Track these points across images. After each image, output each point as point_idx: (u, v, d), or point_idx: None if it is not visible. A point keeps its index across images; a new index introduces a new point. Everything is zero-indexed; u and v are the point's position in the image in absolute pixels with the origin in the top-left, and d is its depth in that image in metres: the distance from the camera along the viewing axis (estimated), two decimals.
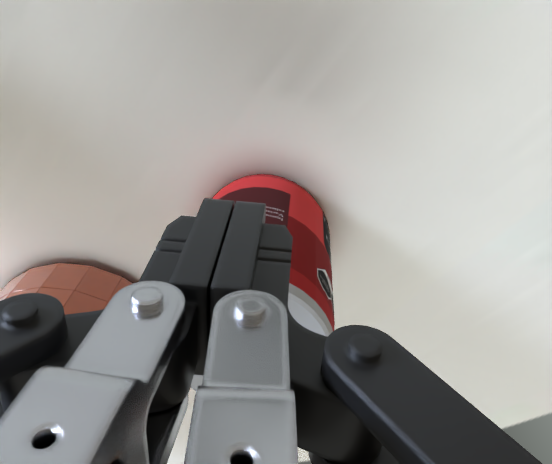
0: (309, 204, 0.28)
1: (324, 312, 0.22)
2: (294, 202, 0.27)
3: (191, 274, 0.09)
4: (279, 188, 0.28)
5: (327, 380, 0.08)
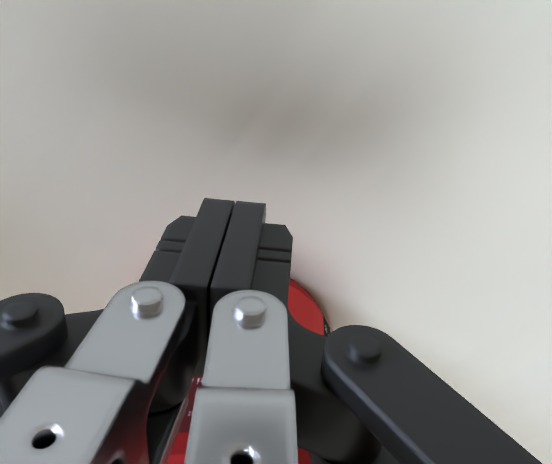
0: (303, 315, 0.20)
1: None
2: None
3: (191, 274, 0.09)
4: None
5: (327, 380, 0.08)
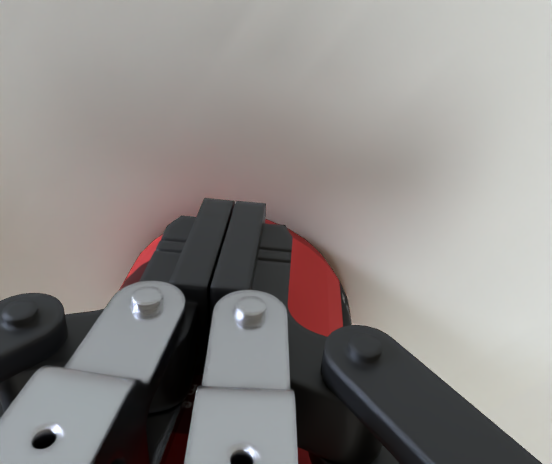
0: (315, 276, 0.15)
1: None
2: None
3: (191, 274, 0.09)
4: None
5: (327, 380, 0.08)
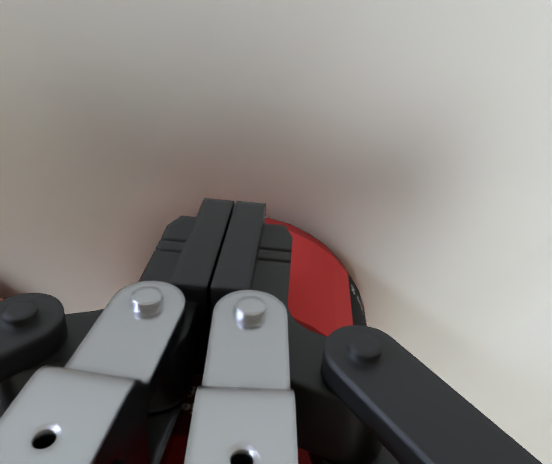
0: (320, 270, 0.15)
1: None
2: None
3: (191, 274, 0.09)
4: None
5: (327, 380, 0.08)
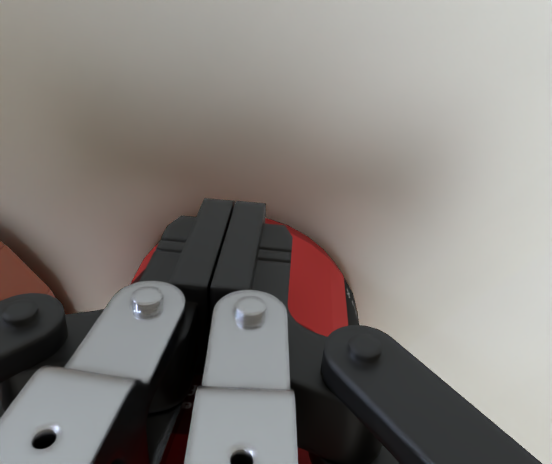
0: (318, 273, 0.15)
1: None
2: None
3: (191, 274, 0.09)
4: None
5: (327, 380, 0.08)
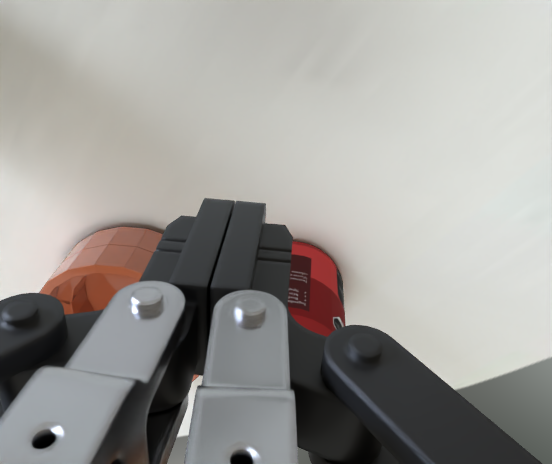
0: (325, 264, 0.38)
1: None
2: (314, 265, 0.37)
3: (191, 274, 0.09)
4: (303, 254, 0.38)
5: (327, 380, 0.08)
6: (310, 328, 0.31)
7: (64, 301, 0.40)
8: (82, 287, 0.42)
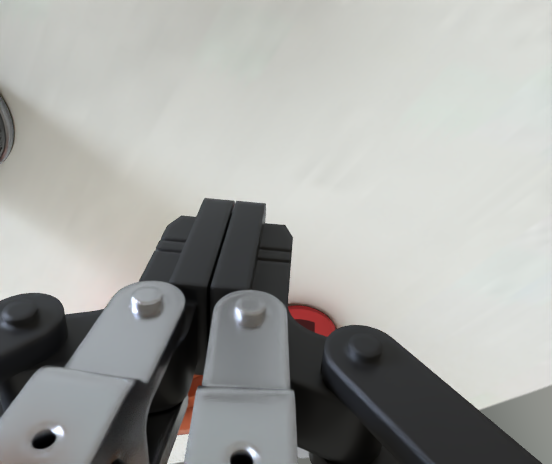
0: (326, 327, 0.46)
1: None
2: (317, 329, 0.45)
3: (191, 274, 0.09)
4: (308, 319, 0.46)
5: (327, 380, 0.08)
6: None
7: None
8: None
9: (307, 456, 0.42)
